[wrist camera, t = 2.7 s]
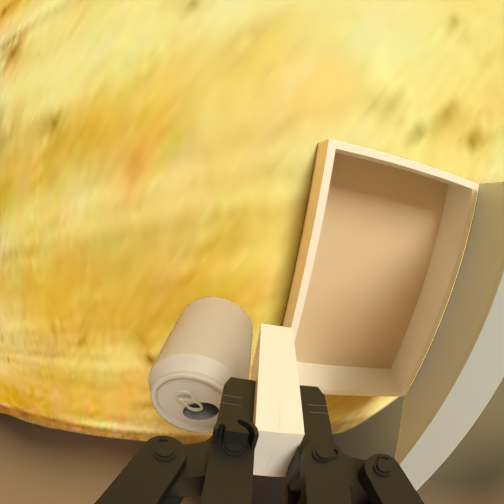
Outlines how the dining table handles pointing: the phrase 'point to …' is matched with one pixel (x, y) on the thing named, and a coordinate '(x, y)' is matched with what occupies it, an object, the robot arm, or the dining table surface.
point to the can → (201, 363)
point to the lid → (460, 349)
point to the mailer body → (374, 268)
